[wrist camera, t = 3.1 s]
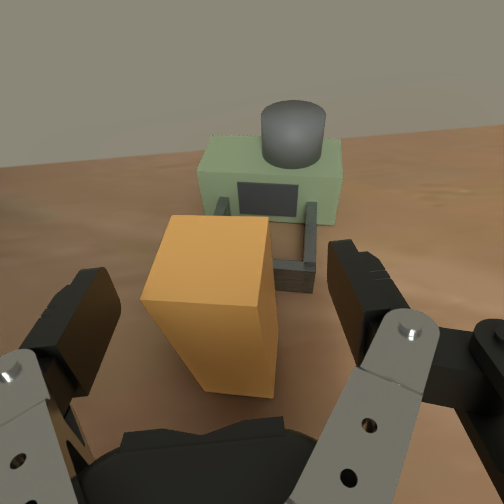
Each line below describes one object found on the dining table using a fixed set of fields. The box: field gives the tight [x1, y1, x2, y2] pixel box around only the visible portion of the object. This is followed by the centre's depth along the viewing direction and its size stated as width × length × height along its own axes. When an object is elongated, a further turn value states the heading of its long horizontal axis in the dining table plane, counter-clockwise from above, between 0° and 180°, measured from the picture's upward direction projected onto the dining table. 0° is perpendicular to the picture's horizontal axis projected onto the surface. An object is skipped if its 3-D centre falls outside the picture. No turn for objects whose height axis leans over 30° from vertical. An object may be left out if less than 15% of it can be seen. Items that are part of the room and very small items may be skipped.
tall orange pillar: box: [140, 215, 279, 399], centre depth 20 cm, size 5×5×13 cm
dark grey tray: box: [213, 197, 317, 293], centre depth 32 cm, size 10×9×3 cm
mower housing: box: [196, 100, 343, 225], centre depth 34 cm, size 14×7×10 cm, turn 82°
